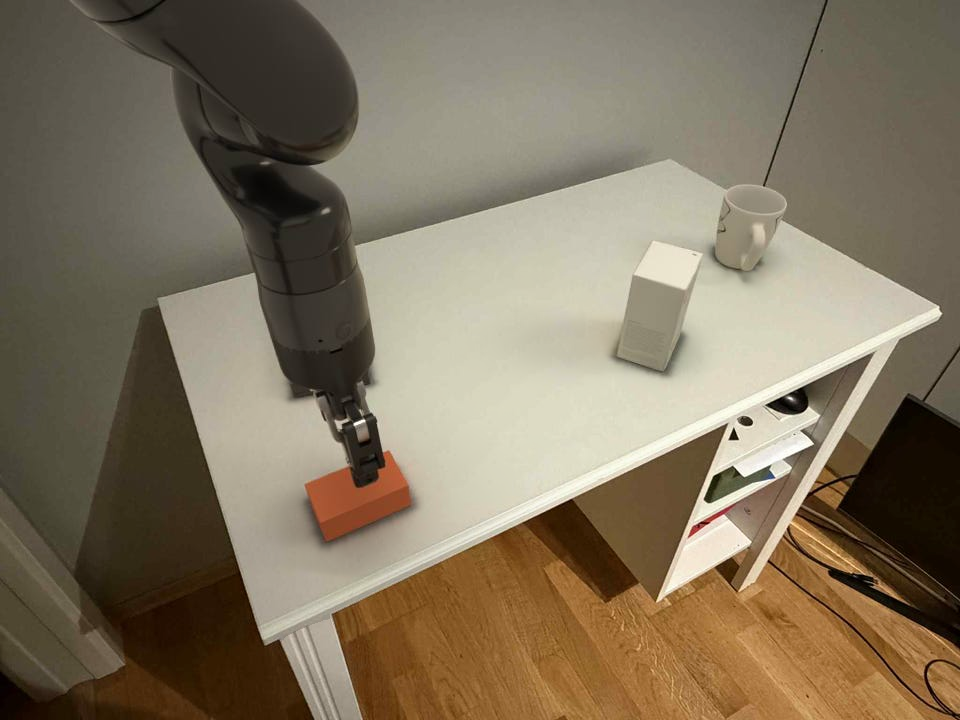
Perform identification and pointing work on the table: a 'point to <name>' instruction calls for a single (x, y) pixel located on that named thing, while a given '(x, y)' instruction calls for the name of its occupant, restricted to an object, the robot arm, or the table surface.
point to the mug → (747, 224)
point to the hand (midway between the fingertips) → (349, 447)
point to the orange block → (356, 499)
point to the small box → (658, 304)
